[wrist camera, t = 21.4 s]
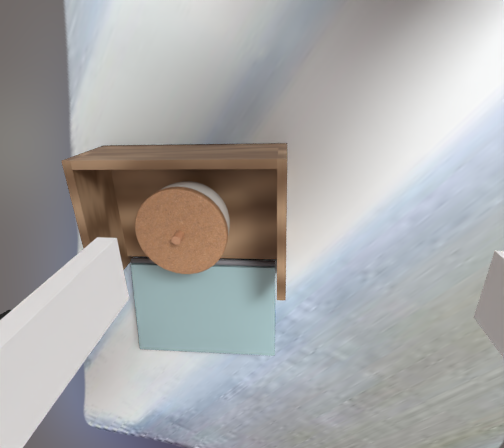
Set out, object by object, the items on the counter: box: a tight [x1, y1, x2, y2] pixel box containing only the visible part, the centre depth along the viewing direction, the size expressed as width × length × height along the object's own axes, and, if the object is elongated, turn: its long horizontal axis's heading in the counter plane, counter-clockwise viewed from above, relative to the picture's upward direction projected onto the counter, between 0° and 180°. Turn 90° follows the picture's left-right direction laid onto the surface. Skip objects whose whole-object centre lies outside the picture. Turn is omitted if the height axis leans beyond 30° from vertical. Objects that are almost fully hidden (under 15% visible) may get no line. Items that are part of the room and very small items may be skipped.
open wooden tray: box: [62, 143, 287, 300], centre depth 42 cm, size 17×24×9 cm
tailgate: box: [131, 258, 275, 356], centre depth 50 cm, size 1×21×15 cm
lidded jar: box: [135, 181, 230, 274], centre depth 41 cm, size 11×11×9 cm
